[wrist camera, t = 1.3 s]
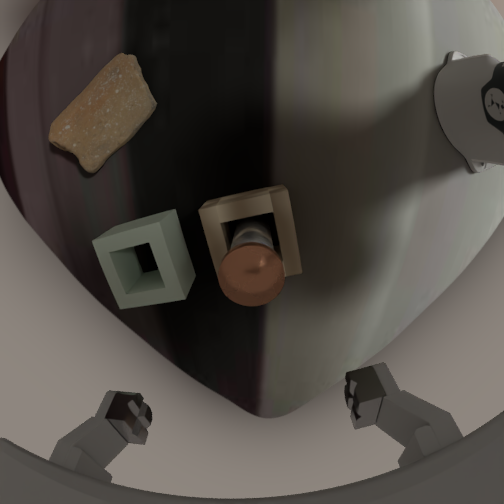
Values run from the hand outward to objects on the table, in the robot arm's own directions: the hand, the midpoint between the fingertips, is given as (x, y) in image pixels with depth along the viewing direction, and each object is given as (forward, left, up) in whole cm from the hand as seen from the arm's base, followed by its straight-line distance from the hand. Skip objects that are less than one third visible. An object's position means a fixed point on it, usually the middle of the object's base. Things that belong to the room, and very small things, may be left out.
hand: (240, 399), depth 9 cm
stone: (+15, -18, -25) cm, 35 cm away
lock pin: (0, +1, -25) cm, 25 cm away
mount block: (0, +1, -25) cm, 25 cm away
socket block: (+13, +1, -25) cm, 28 cm away
